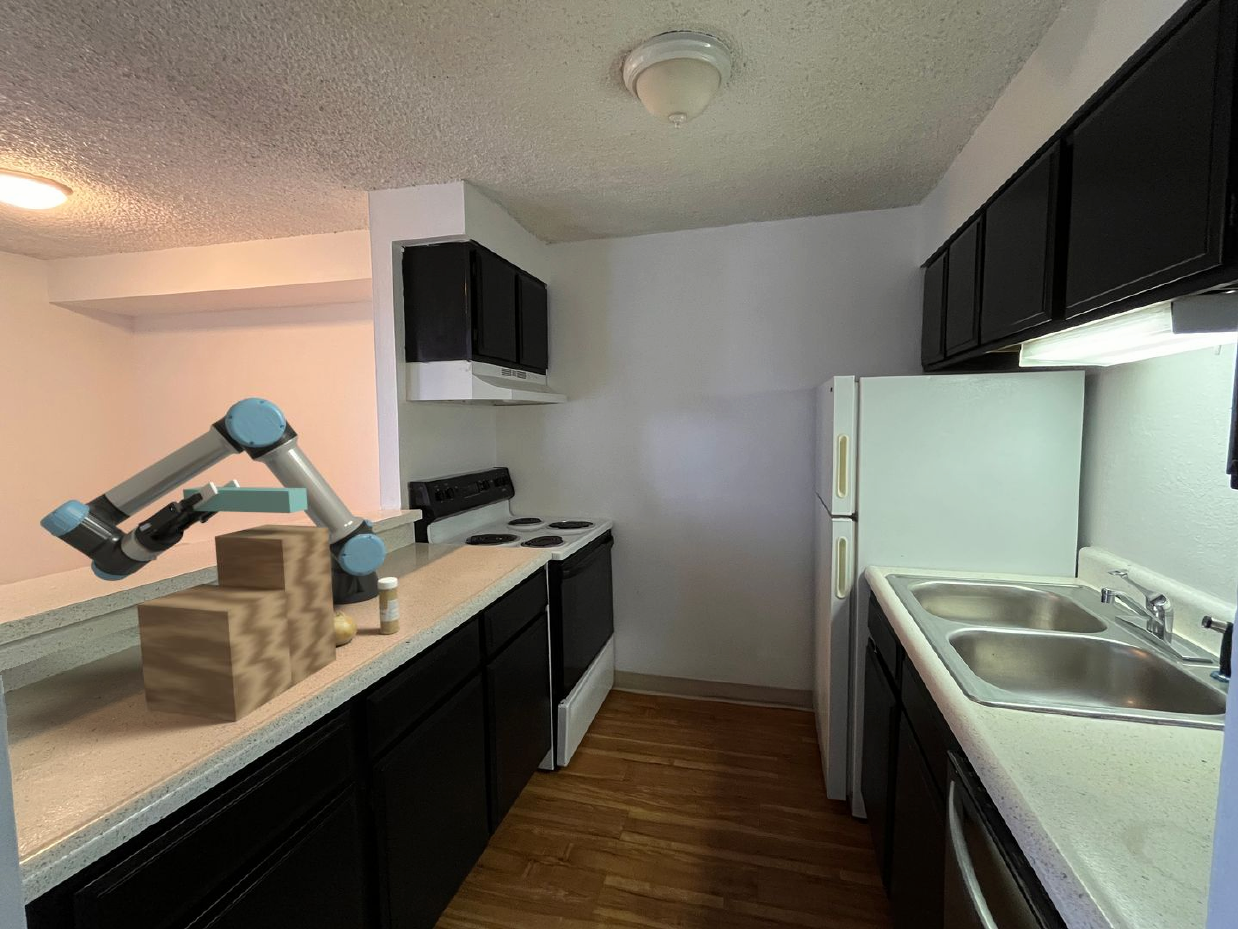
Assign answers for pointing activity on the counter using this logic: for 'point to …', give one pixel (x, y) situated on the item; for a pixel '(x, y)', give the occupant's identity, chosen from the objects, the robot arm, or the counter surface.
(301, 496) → the slim box
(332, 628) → the wooden step block
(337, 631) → the onion
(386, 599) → the sprinkles bottle
